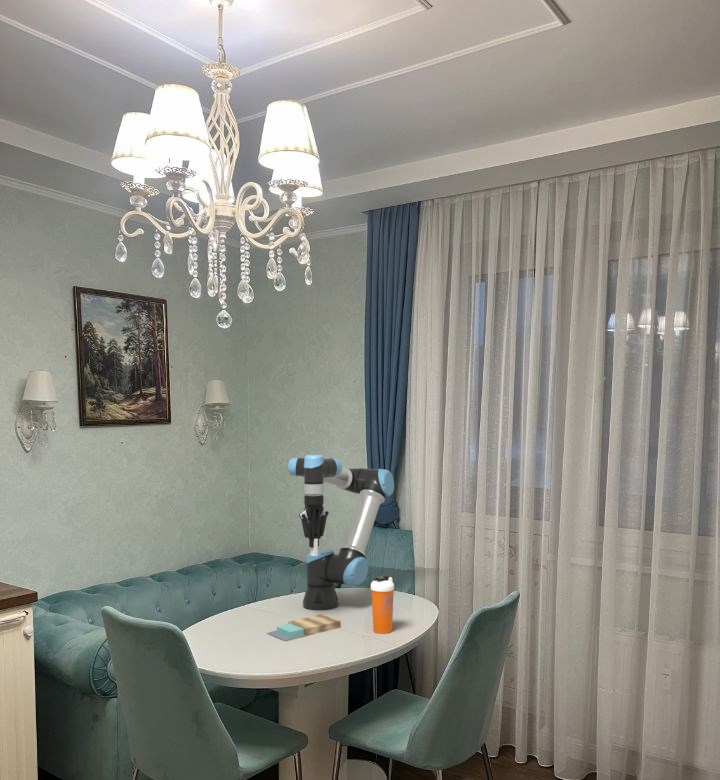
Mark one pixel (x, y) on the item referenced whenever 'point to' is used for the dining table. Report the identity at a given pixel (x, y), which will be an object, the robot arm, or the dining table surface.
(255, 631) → the dining table surface
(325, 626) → the tan wooden board
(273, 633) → the mat
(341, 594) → the dining table surface
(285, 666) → the dining table surface
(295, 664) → the dining table surface
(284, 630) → the turquoise rectangular block
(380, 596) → the shaker bottle
